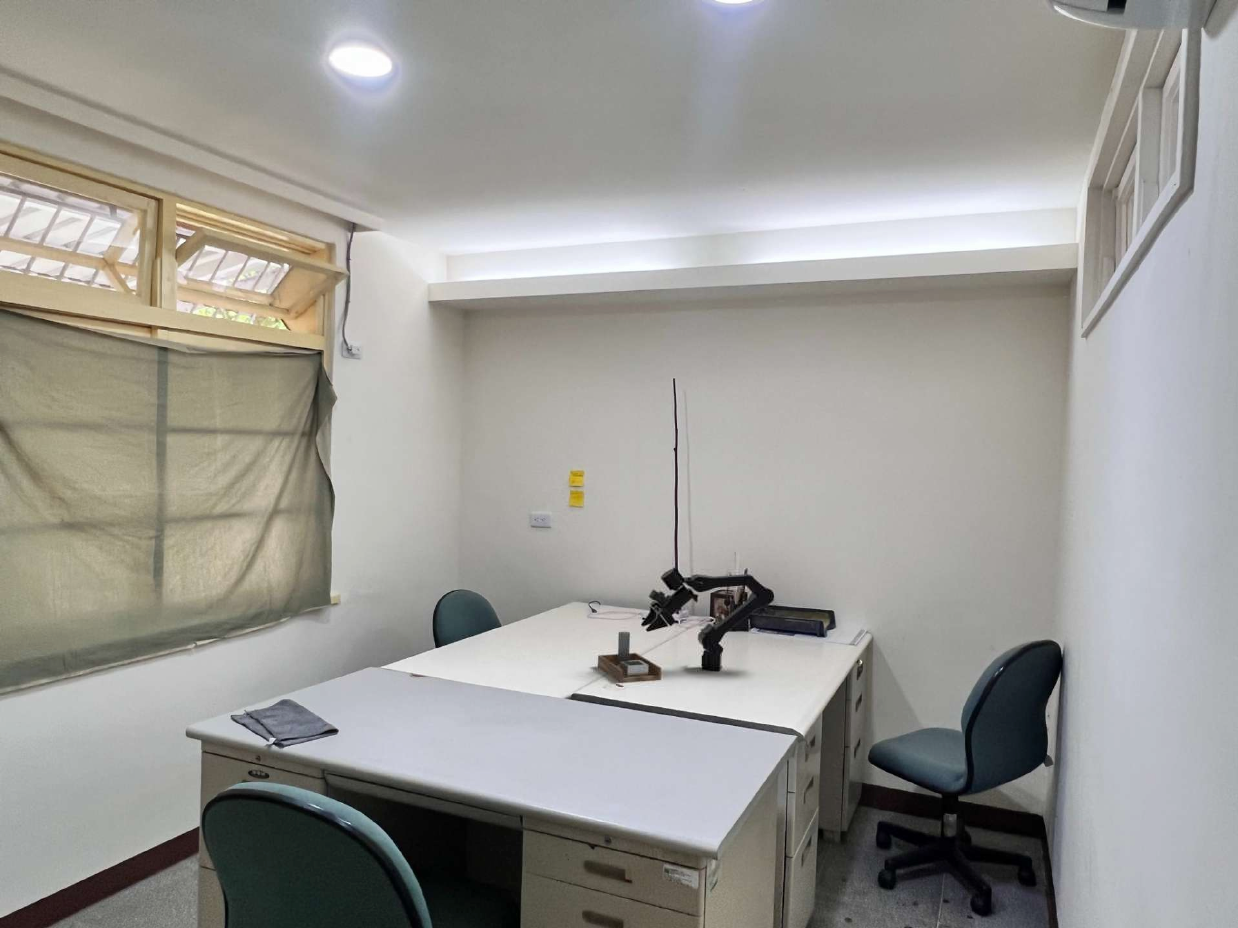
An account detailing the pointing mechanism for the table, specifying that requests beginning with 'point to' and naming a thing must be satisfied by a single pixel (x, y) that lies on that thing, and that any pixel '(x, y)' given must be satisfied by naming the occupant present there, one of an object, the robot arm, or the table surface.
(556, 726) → the table surface
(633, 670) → the frame
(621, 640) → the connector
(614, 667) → the box
